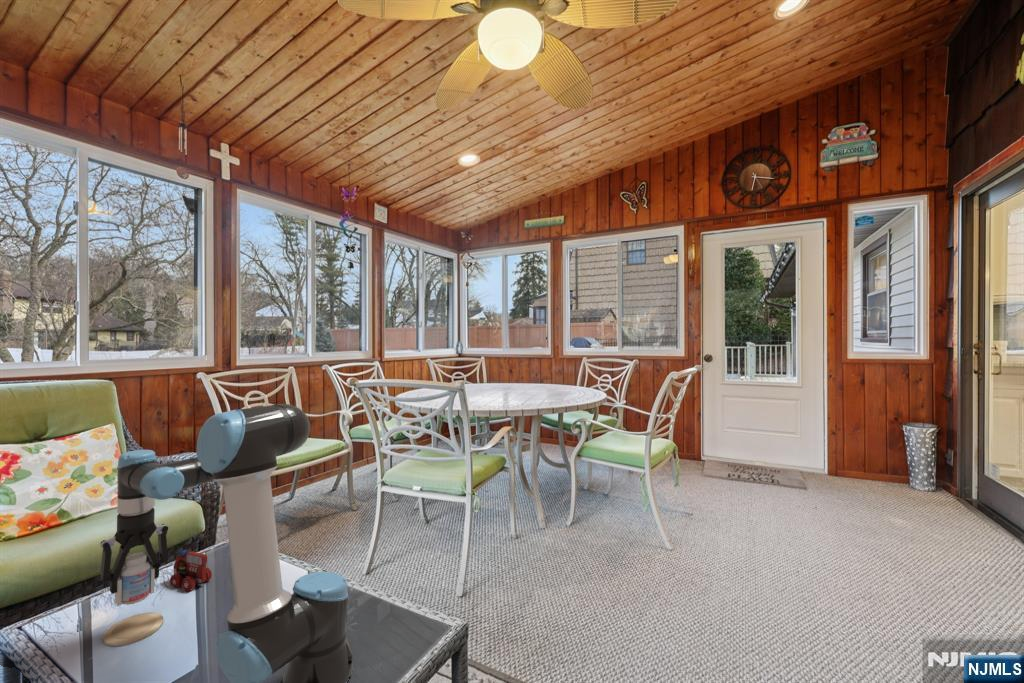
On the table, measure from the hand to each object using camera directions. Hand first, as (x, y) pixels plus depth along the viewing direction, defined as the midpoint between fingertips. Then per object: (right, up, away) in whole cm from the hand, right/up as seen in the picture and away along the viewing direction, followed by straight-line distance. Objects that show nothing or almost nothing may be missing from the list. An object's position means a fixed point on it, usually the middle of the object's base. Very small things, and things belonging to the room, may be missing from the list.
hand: (134, 597), depth 116 cm
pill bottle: (0, -1, 0) cm, 1 cm away
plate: (0, -9, 0) cm, 9 cm away
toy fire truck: (-1, -9, +22) cm, 23 cm away
